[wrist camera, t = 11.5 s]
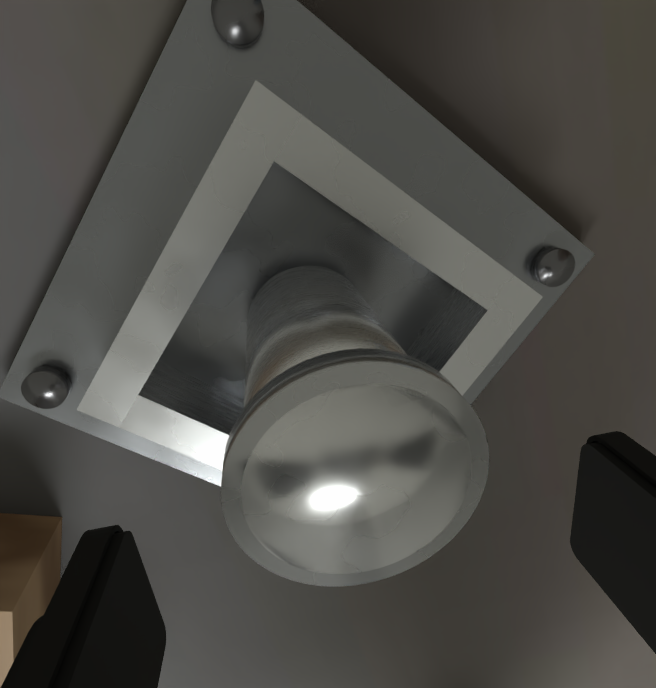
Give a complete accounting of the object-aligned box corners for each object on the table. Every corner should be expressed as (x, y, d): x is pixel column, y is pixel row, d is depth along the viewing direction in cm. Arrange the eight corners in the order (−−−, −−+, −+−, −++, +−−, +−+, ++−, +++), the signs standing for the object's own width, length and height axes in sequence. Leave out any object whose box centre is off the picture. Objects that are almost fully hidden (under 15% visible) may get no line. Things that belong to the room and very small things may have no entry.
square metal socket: (579, 249, 20) (650, 270, 17) (354, 526, 25) (371, 591, 21) (221, -53, 14) (209, -123, 11) (9, 384, 19) (-50, 440, 15)
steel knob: (371, 245, 18) (495, 342, 9) (380, 375, 20) (484, 558, 11) (223, 266, 17) (191, 393, 8) (250, 397, 20) (248, 608, 10)
